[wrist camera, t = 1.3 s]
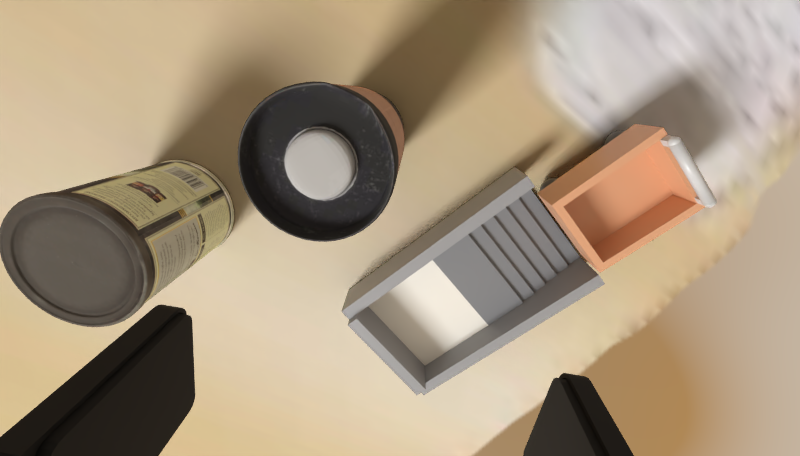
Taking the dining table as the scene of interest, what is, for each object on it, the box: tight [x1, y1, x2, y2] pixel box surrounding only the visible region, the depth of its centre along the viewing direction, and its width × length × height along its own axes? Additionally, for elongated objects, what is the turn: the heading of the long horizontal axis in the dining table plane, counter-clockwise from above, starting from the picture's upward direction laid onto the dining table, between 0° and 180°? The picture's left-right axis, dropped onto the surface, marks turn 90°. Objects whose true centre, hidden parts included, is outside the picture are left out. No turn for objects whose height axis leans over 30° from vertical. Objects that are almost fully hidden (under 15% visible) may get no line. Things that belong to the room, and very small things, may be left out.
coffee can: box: [0, 160, 234, 327], centre depth 33 cm, size 10×10×14 cm
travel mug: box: [238, 82, 404, 242], centre depth 27 cm, size 8×8×20 cm
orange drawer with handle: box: [537, 124, 717, 272], centre depth 33 cm, size 10×8×8 cm
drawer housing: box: [342, 167, 605, 395], centre depth 38 cm, size 22×13×6 cm, turn 129°
